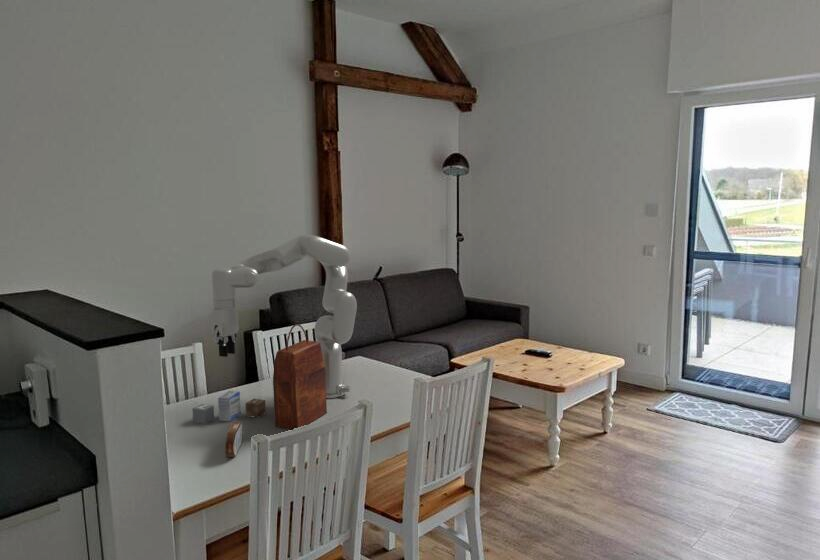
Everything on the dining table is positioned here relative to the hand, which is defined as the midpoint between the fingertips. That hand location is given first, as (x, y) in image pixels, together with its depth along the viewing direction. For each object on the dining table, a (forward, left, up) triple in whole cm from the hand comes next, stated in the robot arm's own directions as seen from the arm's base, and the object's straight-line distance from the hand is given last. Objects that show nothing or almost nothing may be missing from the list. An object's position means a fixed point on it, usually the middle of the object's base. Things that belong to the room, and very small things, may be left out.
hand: (227, 354), depth 207 cm
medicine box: (0, 0, -24) cm, 24 cm away
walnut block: (-7, -5, -23) cm, 25 cm away
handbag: (-25, -7, -23) cm, 35 cm away
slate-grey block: (+7, +6, -23) cm, 25 cm away
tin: (-19, +23, -24) cm, 38 cm away
